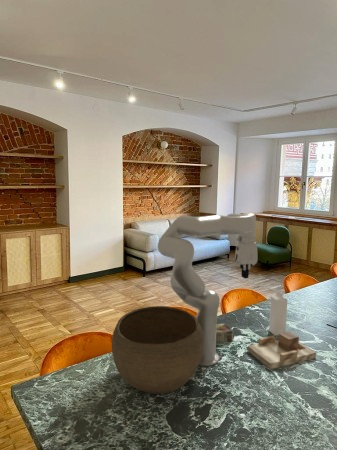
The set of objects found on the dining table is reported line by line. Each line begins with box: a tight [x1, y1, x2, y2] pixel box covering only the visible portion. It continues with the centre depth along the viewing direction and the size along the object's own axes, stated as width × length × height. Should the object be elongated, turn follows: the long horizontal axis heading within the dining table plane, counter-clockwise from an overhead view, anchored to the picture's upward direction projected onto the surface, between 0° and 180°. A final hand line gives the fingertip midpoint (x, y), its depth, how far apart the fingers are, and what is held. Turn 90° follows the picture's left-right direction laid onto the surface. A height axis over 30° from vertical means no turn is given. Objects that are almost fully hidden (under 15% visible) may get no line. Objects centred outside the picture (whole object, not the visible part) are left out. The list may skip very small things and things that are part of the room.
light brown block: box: [278, 331, 300, 352], centre depth 153 cm, size 6×6×6 cm
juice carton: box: [216, 323, 235, 344], centre depth 166 cm, size 20×10×6 cm, turn 106°
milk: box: [268, 289, 288, 337], centre depth 172 cm, size 6×6×22 cm
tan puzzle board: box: [247, 335, 317, 370], centre depth 152 cm, size 25×16×5 cm, turn 112°
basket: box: [111, 305, 204, 395], centre depth 130 cm, size 35×35×25 cm
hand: (244, 277), depth 160 cm, fingers closed
